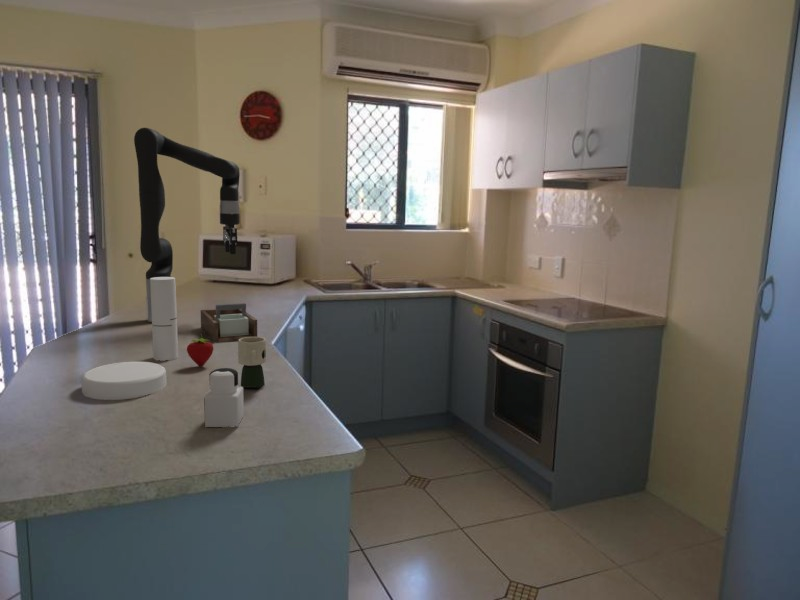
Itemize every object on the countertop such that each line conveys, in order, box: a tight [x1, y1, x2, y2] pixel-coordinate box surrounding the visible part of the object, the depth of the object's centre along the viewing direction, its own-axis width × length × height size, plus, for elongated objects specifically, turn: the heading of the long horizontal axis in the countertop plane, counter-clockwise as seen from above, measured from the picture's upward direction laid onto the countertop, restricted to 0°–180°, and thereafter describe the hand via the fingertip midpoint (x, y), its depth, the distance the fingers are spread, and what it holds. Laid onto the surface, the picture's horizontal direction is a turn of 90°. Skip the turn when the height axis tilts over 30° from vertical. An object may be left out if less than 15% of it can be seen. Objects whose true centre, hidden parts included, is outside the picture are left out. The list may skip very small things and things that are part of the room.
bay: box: [200, 308, 258, 343], centre depth 213 cm, size 15×26×7 cm, turn 29°
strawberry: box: [186, 334, 215, 367], centre depth 169 cm, size 6×8×10 cm
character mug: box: [237, 336, 267, 389], centre depth 152 cm, size 11×7×13 cm, turn 18°
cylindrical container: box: [150, 276, 179, 362], centre depth 176 cm, size 7×7×25 cm
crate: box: [214, 302, 249, 337], centre depth 208 cm, size 10×10×11 cm
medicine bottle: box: [203, 367, 245, 428], centre depth 127 cm, size 7×7×12 cm
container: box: [80, 361, 167, 401], centre depth 149 cm, size 20×20×5 cm
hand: (230, 253), depth 230 cm, fingers open, 8 cm apart
